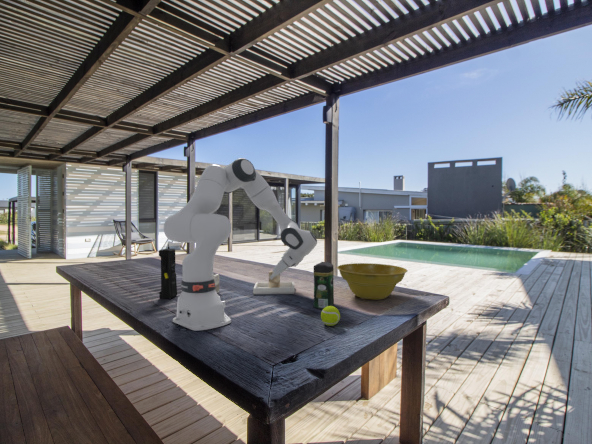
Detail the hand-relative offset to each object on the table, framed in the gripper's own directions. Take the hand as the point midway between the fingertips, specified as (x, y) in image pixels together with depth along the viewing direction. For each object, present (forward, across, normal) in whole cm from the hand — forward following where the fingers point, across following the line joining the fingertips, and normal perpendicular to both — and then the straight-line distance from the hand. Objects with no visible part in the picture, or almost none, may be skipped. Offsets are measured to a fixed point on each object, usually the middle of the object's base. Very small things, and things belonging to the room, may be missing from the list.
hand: (273, 276), depth 160 cm
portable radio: (+37, +22, -26) cm, 51 cm away
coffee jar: (-15, +23, +26) cm, 37 cm away
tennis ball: (-19, +45, +29) cm, 57 cm away
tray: (+5, 0, +6) cm, 7 cm away
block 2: (+4, 0, +5) cm, 6 cm away
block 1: (+25, +10, -15) cm, 31 cm away
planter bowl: (-29, +1, +40) cm, 49 cm away
